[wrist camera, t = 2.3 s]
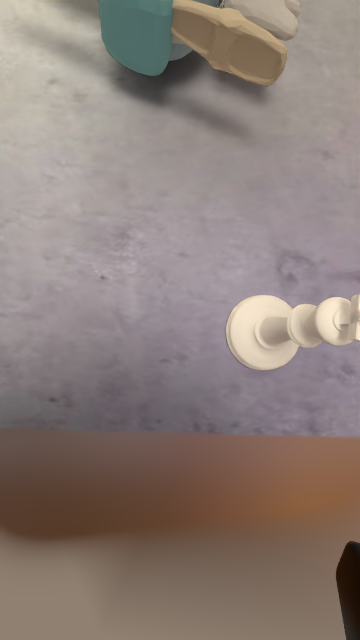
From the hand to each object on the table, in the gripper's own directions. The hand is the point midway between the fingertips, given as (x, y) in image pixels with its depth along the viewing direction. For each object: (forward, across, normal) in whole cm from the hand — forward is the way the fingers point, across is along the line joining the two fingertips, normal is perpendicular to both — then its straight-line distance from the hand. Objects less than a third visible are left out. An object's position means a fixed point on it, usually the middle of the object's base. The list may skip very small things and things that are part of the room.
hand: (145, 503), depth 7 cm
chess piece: (+15, -4, 0) cm, 15 cm away
